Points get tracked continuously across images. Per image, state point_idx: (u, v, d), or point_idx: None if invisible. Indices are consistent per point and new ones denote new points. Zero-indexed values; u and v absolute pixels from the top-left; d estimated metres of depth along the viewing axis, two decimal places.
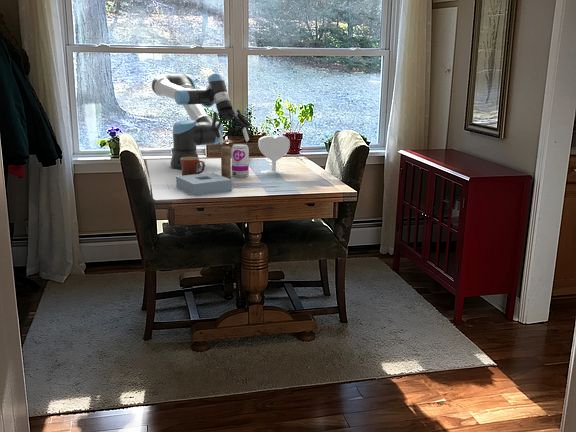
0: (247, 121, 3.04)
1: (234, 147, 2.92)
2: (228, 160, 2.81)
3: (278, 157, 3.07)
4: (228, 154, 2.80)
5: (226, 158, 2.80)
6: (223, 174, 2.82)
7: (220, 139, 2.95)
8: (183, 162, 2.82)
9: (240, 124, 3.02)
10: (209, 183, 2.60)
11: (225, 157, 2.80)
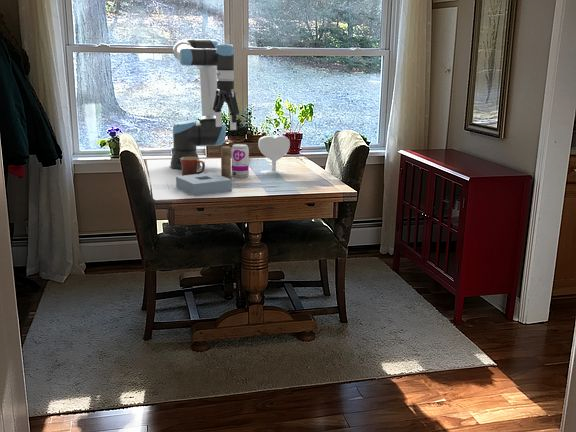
0: (233, 108, 2.68)
1: (234, 147, 2.92)
2: (228, 160, 2.81)
3: (278, 157, 3.07)
4: (228, 154, 2.80)
5: (226, 158, 2.80)
6: (223, 174, 2.82)
7: None
8: (183, 162, 2.82)
9: None
10: (209, 183, 2.60)
11: (225, 157, 2.80)
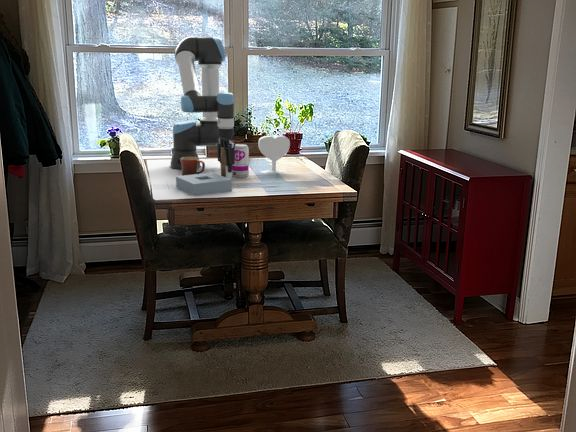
0: (229, 160, 2.77)
1: None
2: None
3: (278, 157, 3.07)
4: None
5: None
6: (223, 174, 2.82)
7: None
8: (183, 162, 2.82)
9: None
10: (209, 183, 2.60)
11: (225, 157, 2.80)
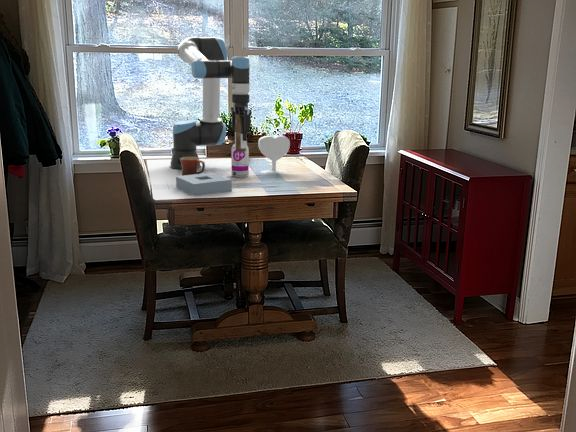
0: (245, 127, 2.64)
1: (234, 147, 2.92)
2: None
3: (278, 157, 3.07)
4: None
5: None
6: (238, 143, 2.69)
7: None
8: (183, 162, 2.82)
9: None
10: (209, 183, 2.60)
11: (240, 125, 2.67)
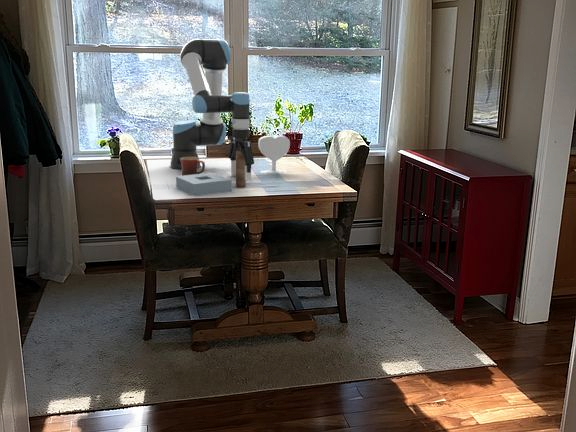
0: (248, 159, 2.65)
1: None
2: (243, 164, 2.72)
3: (278, 157, 3.07)
4: (243, 158, 2.71)
5: (241, 162, 2.71)
6: (238, 179, 2.73)
7: None
8: (183, 162, 2.82)
9: None
10: (209, 183, 2.60)
11: (240, 161, 2.71)
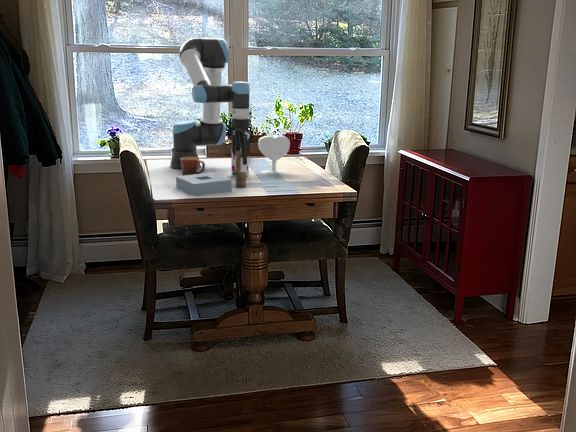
0: (245, 151, 2.66)
1: None
2: None
3: (278, 157, 3.07)
4: None
5: None
6: (238, 179, 2.73)
7: None
8: (183, 162, 2.82)
9: None
10: (209, 183, 2.60)
11: (240, 161, 2.71)
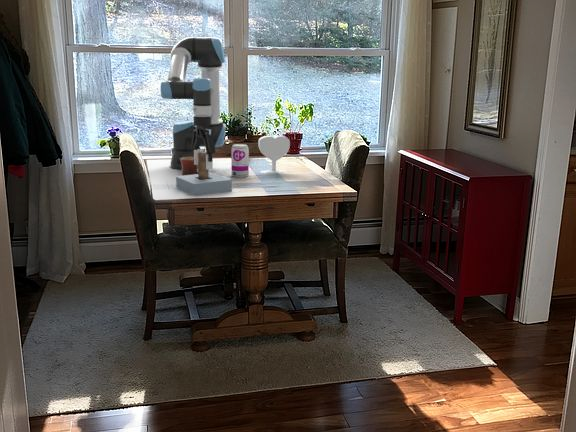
0: (209, 147, 2.57)
1: (234, 147, 2.92)
2: (205, 166, 2.65)
3: (278, 157, 3.07)
4: (205, 160, 2.64)
5: (203, 164, 2.64)
6: None
7: None
8: (183, 162, 2.82)
9: None
10: (209, 183, 2.60)
11: (202, 163, 2.64)
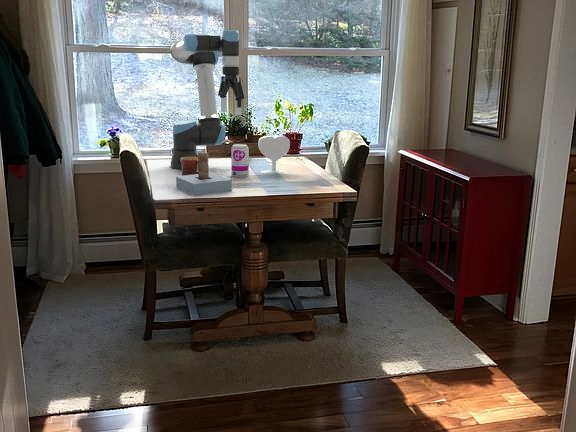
0: (238, 93, 2.72)
1: (234, 147, 2.92)
2: (205, 166, 2.65)
3: (278, 157, 3.07)
4: (205, 160, 2.64)
5: (203, 164, 2.64)
6: None
7: None
8: (183, 162, 2.82)
9: None
10: (209, 183, 2.60)
11: (202, 163, 2.64)
